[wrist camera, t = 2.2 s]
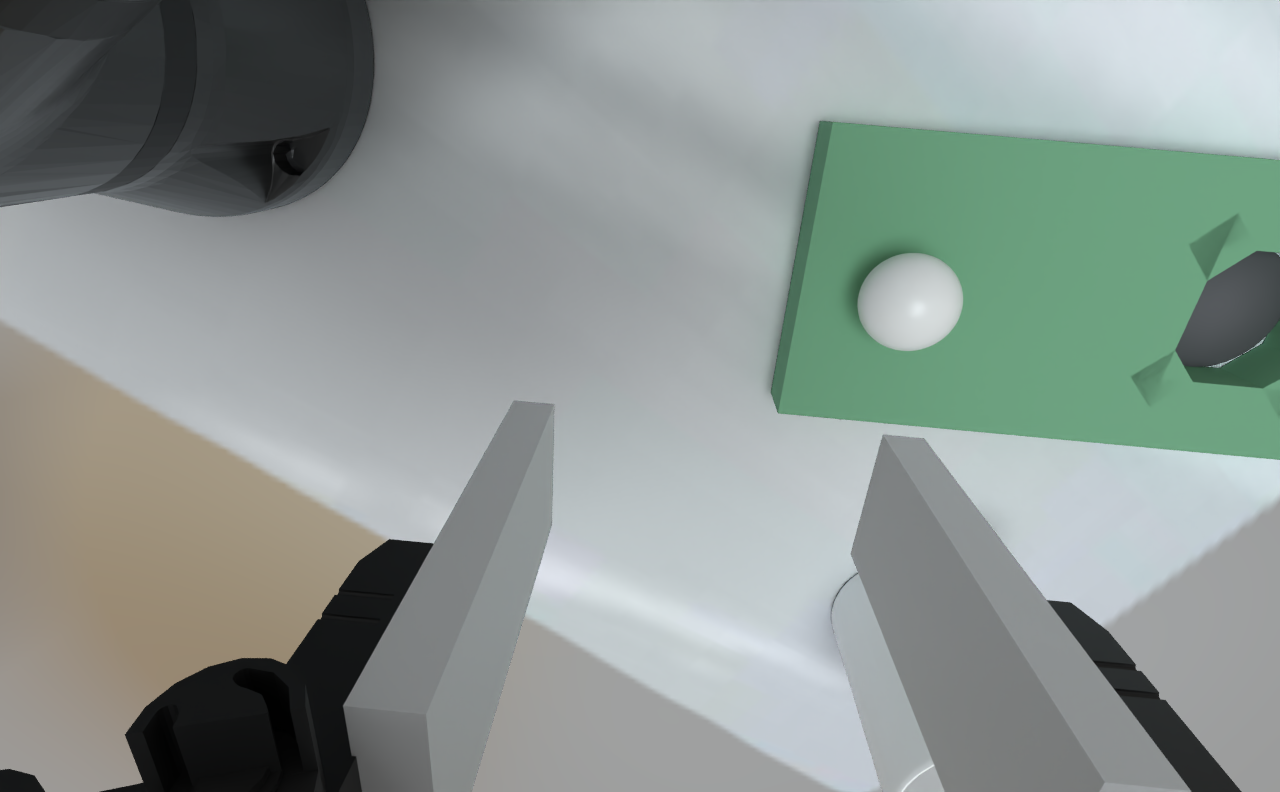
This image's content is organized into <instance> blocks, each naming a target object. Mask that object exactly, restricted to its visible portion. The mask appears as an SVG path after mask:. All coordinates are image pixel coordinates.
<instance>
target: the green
mask: <svg viewBox="0 0 1280 792" xmlns="http://www.w3.org/2000/svg"><path fill="white" fill-rule="evenodd" d="M1275 252H1277V253H1280V160H1273V159H1261V158H1249V157H1238V156H1226V155H1214V154H1203V153H1191V152H1179V151H1167V150H1156V149H1144V148H1132V147H1121V146H1109V145H1097V144H1085V143H1074V142H1062V141H1050V140H1039V139H1027V138H1015V137H1003V136H992V135H980V134H968V133H957V132H945V131H933V130H921V129H910V128H898V127H886V126H875V125H863V124H851V123H839V122H826V121H820V124H819V129H818V135H817V140H816V146H815V151H814V157H813V162H812V168H811V173H810V179H809V185H808V190H807V196H806V201H805V207H804V212H803V218H802V223H801V229H800V234H799V240H798V245H797V251H796V256H795V262H794V267H793V273H792V278H791V284H790V290H789V295H788V301H787V306H786V312H785V317H784V323H783V328H782V334H781V339H780V345H779V350H778V356H777V361H776V367H775V372H774V378H773V384H772V389H771V394H772V397H773V400H774V403H775V406H776V409H777V412H778V413H781V414H791V415H802V416H813V417H824V418H834V419H845V420H856V421H867V422H878V423H888V424H899V425H910V426H921V427H932V428H942V429H953V430H964V431H975V432H986V433H996V434H1007V435H1018V436H1029V437H1039V438H1050V439H1061V440H1072V441H1083V442H1093V443H1104V444H1115V445H1126V446H1137V447H1147V448H1158V449H1169V450H1180V451H1190V452H1201V453H1212V454H1223V455H1234V456H1244V457H1255V458H1266V459H1277V460H1280V257H1279V255H1277V254H1276V253H1275ZM904 253H922V254H927V255H930V256H933V257H935V258H938V259H940V260H941V261H943V262H944V263H946V264H947V265H948V266H949V267H950V268H951V269H952V270H953V271H954V273H955V274H956V276H957V277H958V279H959V281H960V284H961V287H962V292H963V307H962V311H961V314H960V317H959V320H958V321H957V323H956V325H955V326H954V328H953V329H952V330H951V332H950V333H949V334H948V335H947V336H946V337H945V338H943V339H942V340H941V341H939V342H938V343H936V344H934V345H932V346H930V347H927V348H924V349H920V350H916V351H900V350H894V349H891V348H888V347H886V346H883V345H881V344H880V343H878V342H877V341H875V340H874V339H873V338H872V337H871V336H870V335H869V334H868V333H867V332H866V330H865V329H864V327H863V325H862V323H861V321H860V318H859V314H858V307H857V303H858V295H859V292H860V288H861V286H862V284H863V282H864V280H865V278H866V277H867V276H868V274H869V273H870V272H871V271H872V270H873V269H874V268H875V267H876V266H877V265H879V264H880V263H881V262H883V261H885V260H887V259H889V258H891V257H893V256H896V255H900V254H904ZM1266 336H1267V337H1266ZM1265 337H1266V339H1265V341H1264V342H1263V344H1261V345H1260V346H1258V347H1256V348H1254V349H1253V350H1251V351H1249V352H1247V353H1246V354H1244V355H1242V356H1240V357H1238V358H1237V359H1235V360H1233V361H1231V362H1230V363H1228V364H1226V365H1224V366H1223V367H1221V368H1213V367H1203V366H1211V365H1216V364H1219V363H1223V362H1226V361H1228V360H1231V359H1233V358H1235V357H1237V356H1239V355H1241V354H1243V353H1245V352H1246V351H1248V350H1250V349H1251V348H1252V347H1254V346H1255V345H1256V344H1258V343H1259V342H1260V341H1261V340H1262V339H1263V338H1265Z"/></svg>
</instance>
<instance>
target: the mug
mask: <svg viewBox="0 0 1280 792" xmlns="http://www.w3.org/2000/svg"><path fill="white" fill-rule="evenodd" d="M831 622H832V627H833V631H834V634H835V637H836V641H837V644H838V647H839V650H840V654H841V657H842V660H843V664H844V667H845V670H846V674H847V677H848V680H849V684H850V687H851V690H852V693H853V697H854V700H855V703H856V707H857V710H858V713H859V717H860V720H861V723H862V726H863V730H864V733H865V736H866V740H867V743H868V746H869V750H870V753H871V756H872V760H873V763H874V766H875V769H876V773H877V776H878V779H879V783H880V786H881V789H882V792H945V791H944V789H943V786H942V784H941V781H940V779H939V776H938V774H937V771H936V769H935V766H934V763H933V761H932V758H931V756H930V753H929V751H928V748H927V746H926V743H925V741H924V738H923V736H922V733H921V731H920V728H919V725H918V723H917V720H916V718H915V715H914V713H913V710H912V708H911V705H910V703H909V700H908V698H907V695H906V693H905V690H904V687H903V685H902V682H901V680H900V677H899V675H898V672H897V670H896V667H895V665H894V662H893V660H892V657H891V654H890V652H889V649H888V647H887V644H886V642H885V639H884V637H883V634H882V632H881V629H880V627H879V624H878V622H877V619H876V616H875V614H874V611H873V609H872V606H871V604H870V601H869V599H868V596H867V594H866V591H865V589H864V586H863V584H862V581H861V578H860V576H859V573H858V574H856V575H855V576H854V577H853V578H851V579H850V580H849V581H848V582H847V583H846V584H845V585H844V586H843V588H842V589H841V590H840V592H839V593H838V595H837V597H836V599H835V601H834V605H833V608H832V613H831Z"/></svg>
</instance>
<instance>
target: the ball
mask: <svg viewBox="0 0 1280 792" xmlns="http://www.w3.org/2000/svg"><path fill="white" fill-rule="evenodd" d="M857 307H858V314H859V318H860V321H861V323H862V325H863V327H864V329H865V330H866V332H867V333H868V334H869V335H870V336H871V337H872V338H873V339H874V340H875V341H877V342H878V343H880V344H881V345H883V346H886V347H888V348H891V349H894V350H900V351H916V350H920V349H924V348H927V347H930V346H932V345H934V344H936V343H938V342H939V341H941V340H942V339H943V338H945V337H946V336H947V335H948V334H949V333H950V332H951V330H952V329H953V328H954V326H955V325H956V323H957V321H958V320H959V317H960V314H961V311H962V307H963V292H962V287H961V284H960V281H959V279H958V277H957V276H956V274H955V273H954V271H953V270H952V269H951V268H950V267H949V266H948V265H947V264H946V263H944V262H943V261H941V260H940V259H938V258H935V257H933V256H930V255H927V254H922V253H904V254H900V255H896V256H893V257H891V258H889V259H887V260H885V261H883V262H881V263H880V264H879V265H877V266H876V267H875V268H874V269H873V270H872V271H871V272H870V273H869V274H868V276H867V277H866V278H865V280H864V282H863V284H862V286H861V288H860V292H859V295H858V303H857Z"/></svg>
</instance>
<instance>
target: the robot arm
mask: <svg viewBox="0 0 1280 792" xmlns="http://www.w3.org/2000/svg"><path fill="white" fill-rule="evenodd" d="M373 65H374V58H373V42H372V34H371V27H370V21H369V16H368V11H367V7H366V3H365V0H0V207H4V206H11V205H17V204H24V203H31V202H37V201H44V200H51V199H57V198H64V197H70V196H75V195H83V194H90V193H96V194H100V195H104V196H109V197H113V198H118V199H122V200H126V201H131V202H135V203H139V204H144V205H148V206H153V207H157V208H161V209H166V210H170V211H174V212H179V213H184V214H190V215H198V216H212V217H223V216H238V215H245V214H250V213H255V212H259V211H264V210H268V209H272V208H276V207H280V206H283V205H287V204H290V203H292V202H295V201H297V200H299V199H301V198H303V197H305V196H307V195H309V194H310V193H312V192H314V191H315V190H317V189H318V188H319V187H321V186H322V185H323V184H325V183H326V182H327V181H328V180H329V179H330V178H331V177H332V176H333V175H334V174H335V173H336V172H337V171H338V170H339V168H340V167H341V166H342V165H343V163H344V162H345V161H346V159H347V158H348V156H349V155H350V153H351V151H352V150H353V148H354V146H355V144H356V142H357V140H358V138H359V136H360V133H361V131H362V128H363V126H364V123H365V120H366V116H367V113H368V109H369V104H370V99H371V93H372V85H373ZM554 405H555V404H545V403H534V402H524V401H513V403H512V405H511V407H510V409H509V410H508V412H507V414H506V416H505V418H504V419H503V421H502V423H501V425H500V426H499V428H498V430H497V432H496V434H495V435H494V437H493V439H492V441H491V443H490V444H489V446H488V448H487V450H486V451H485V453H484V455H483V457H482V459H481V460H480V462H479V464H478V466H477V468H476V469H475V471H474V473H473V475H472V476H471V478H470V480H469V482H468V484H467V485H466V487H465V489H464V491H463V493H462V494H461V496H460V498H459V500H458V501H457V503H456V505H455V507H454V509H453V510H452V512H451V514H450V516H449V518H448V519H447V521H446V523H445V525H444V526H443V528H442V530H441V532H440V534H439V535H438V537H437V539H436V541H435V543H434V544H433V543H423V542H412V541H402V540H391V539H389V540H388V541H386V542H385V543H383V544H382V545H381V546H379V547H378V548H377V549H375V550H374V551H372V552H371V553H370V554H368V555H367V556H365V557H364V558H363V559H361V560H360V561H359V562H358V563H357V564H356V566H355V567H354V569H353V570H352V571H351V573H350V574H349V576H348V577H347V579H346V580H345V581H344V583H343V584H342V586H341V587H340V588H339V593H338V595H335V596H334V597H333V598H332V600H331V602H330V603H329V604H328V606H327V607H326V609H325V610H324V611H323V613H322V618H321V619H318V620H317V621H316V623H315V624H314V625H313V627H312V628H311V630H310V631H309V632H308V634H307V635H306V637H305V638H304V640H303V641H302V643H301V644H300V645H299V647H298V648H297V650H296V651H295V652H294V654H293V655H292V657H291V658H290V659H289V661H288V662H287V664H284V663H281V662H279V661H276V660H274V659H270V658H269V659H268V658H241V659H237V660H233V661H229V662H226V663H221V664H217V665H214V666H210V667H207V668H205V669H203V670H201V671H199V672H197V673H195V674H193V675H191V676H189V677H187V678H185V679H183V680H181V681H179V682H177V683H175V684H174V685H173V686H171V687H170V688H169V689H168V690H166V691H165V692H164V693H163V694H161V695H160V696H159V697H157V698H156V699H155V700H154V701H152V702H151V703H150V704H149V705H148V706H146V707H145V708H144V710H143V711H142V712H141V714H140V715H139V717H138V718H137V719H136V721H135V722H134V723H133V724H132V726H131V727H130V728H129V730H128V731H127V732H126V734H125V736H126V739H127V741H128V744H129V746H130V749H131V752H132V754H133V757H134V759H135V762H136V764H137V767H138V770H139V772H140V775H141V777H142V780H143V782H144V783H140V784H136V785H131V786H126V787H121V788H116V789H112V790H106V791H101V792H472V789H473V786H474V782H475V779H476V776H477V773H478V769H479V766H480V762H481V759H482V756H483V753H484V749H485V746H486V742H487V739H488V736H489V733H490V729H491V726H492V723H493V719H494V716H495V713H496V709H497V706H498V703H499V699H500V696H501V693H502V689H503V686H504V683H505V679H506V676H507V673H508V669H509V666H510V663H511V659H512V656H513V653H514V649H515V646H516V643H517V639H518V636H519V633H520V629H521V626H522V622H523V619H524V616H525V613H526V609H527V606H528V603H529V599H530V596H531V593H532V589H533V586H534V583H535V579H536V576H537V573H538V569H539V566H540V563H541V559H542V556H543V553H544V549H545V546H546V543H547V539H548V536H549V533H550V529H551V526H552V495H553V450H554ZM851 556H852V558H853V561H854V563H855V566H856V568H857V571H858V573H859V576H860V578H861V581H862V584H863V586H864V589H865V591H866V594H867V596H868V599H869V601H870V604H871V606H872V609H873V611H874V614H875V616H876V619H877V622H878V624H879V627H880V629H881V632H882V634H883V637H884V639H885V642H886V644H887V647H888V649H889V652H890V654H891V657H892V660H893V662H894V665H895V667H896V670H897V672H898V675H899V677H900V680H901V682H902V685H903V687H904V690H905V693H906V695H907V698H908V700H909V703H910V705H911V708H912V710H913V713H914V715H915V718H916V720H917V723H918V725H919V728H920V731H921V733H922V736H923V738H924V741H925V743H926V746H927V748H928V751H929V753H930V756H931V758H932V761H933V763H934V766H935V769H936V771H937V774H938V776H939V779H940V781H941V784H942V786H943V789H944V791H945V792H1241V791H1240V790H1239V788H1238V787H1237V786H1236V785H1235V783H1234V782H1233V781H1232V780H1231V779H1230V777H1229V776H1228V775H1227V774H1226V773H1225V771H1224V770H1223V769H1222V768H1221V767H1220V765H1219V764H1218V763H1217V762H1216V761H1215V759H1214V758H1213V757H1212V756H1211V755H1210V754H1209V752H1208V751H1207V750H1206V749H1205V747H1204V746H1203V745H1202V744H1201V743H1200V741H1199V740H1198V739H1197V738H1196V737H1195V735H1194V734H1193V733H1192V732H1191V730H1190V729H1189V728H1188V727H1187V726H1186V724H1185V723H1184V722H1183V721H1182V720H1181V718H1180V717H1179V716H1178V715H1177V714H1176V712H1175V711H1174V710H1173V709H1172V708H1171V706H1170V705H1169V704H1168V703H1167V702H1166V700H1160V698H1159V692H1158V691H1157V690H1156V689H1155V687H1154V686H1153V685H1152V684H1151V682H1150V681H1149V680H1148V679H1147V677H1146V676H1145V675H1144V674H1143V673H1142V672H1141V671H1137V670H1136V668H1135V666H1136V665H1135V663H1134V662H1133V661H1132V659H1131V658H1130V657H1129V656H1128V655H1127V653H1126V652H1125V651H1124V650H1123V649H1122V648H1121V646H1120V645H1119V644H1118V643H1117V641H1116V640H1115V639H1114V638H1113V637H1112V635H1111V634H1110V633H1109V632H1108V631H1107V630H1106V629H1104V628H1103V627H1102V626H1101V625H1099V624H1098V623H1097V622H1095V621H1094V620H1093V619H1091V618H1090V617H1089V616H1088V615H1086V614H1085V613H1084V612H1082V611H1081V610H1080V609H1078V608H1077V607H1076V606H1075V605H1073V604H1072V603H1070V602H1060V601H1049V600H1046V599H1045V597H1044V596H1043V595H1042V593H1041V592H1040V591H1039V590H1038V588H1037V587H1036V586H1035V584H1034V583H1033V582H1032V580H1031V579H1030V578H1029V576H1028V575H1027V574H1026V572H1025V571H1024V570H1023V568H1022V567H1021V566H1020V564H1019V563H1018V562H1017V560H1016V559H1015V558H1014V557H1013V555H1012V554H1011V553H1010V551H1009V550H1008V549H1007V547H1006V546H1005V545H1004V543H1003V542H1002V541H1001V539H1000V538H999V537H998V535H997V534H996V533H995V531H994V530H993V529H992V527H991V526H990V525H989V524H988V522H987V521H986V520H985V518H984V517H983V516H982V514H981V513H980V512H979V510H978V509H977V508H976V506H975V505H974V504H973V502H972V501H971V500H970V498H969V497H968V496H967V494H966V493H965V492H964V490H963V489H962V488H961V487H960V485H959V484H958V483H957V481H956V480H955V479H954V477H953V476H952V475H951V473H950V472H949V471H948V469H947V468H946V467H945V465H944V464H943V463H942V461H941V460H940V459H939V457H938V456H937V455H936V454H935V452H934V451H933V450H932V448H931V447H930V446H929V444H928V443H927V442H926V440H925V439H924V438H913V437H902V436H891V435H883V436H882V440H881V443H880V447H879V451H878V454H877V458H876V462H875V466H874V469H873V473H872V477H871V480H870V484H869V488H868V491H867V495H866V499H865V502H864V506H863V510H862V514H861V517H860V521H859V525H858V528H857V532H856V536H855V539H854V543H853V547H852V551H851ZM0 792H45V791H44V789H43V788H42V786H41V785H40V783H39V782H38V780H37V779H36V777H35V776H34V775H30V774H27V773H23V772H19V771H15V770H11V769H5V770H0Z"/></svg>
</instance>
